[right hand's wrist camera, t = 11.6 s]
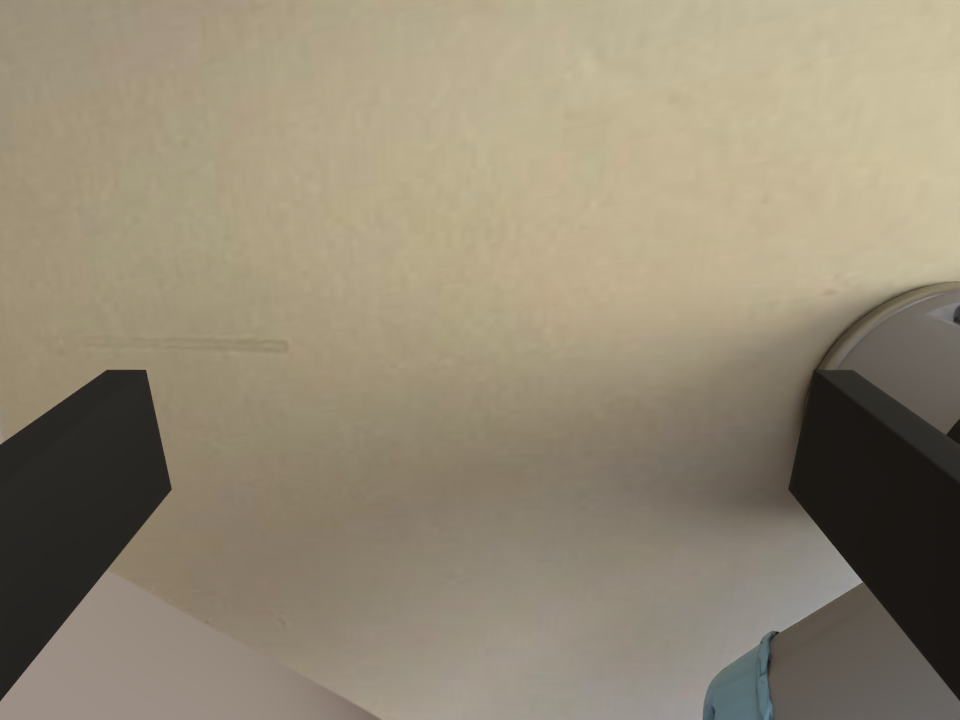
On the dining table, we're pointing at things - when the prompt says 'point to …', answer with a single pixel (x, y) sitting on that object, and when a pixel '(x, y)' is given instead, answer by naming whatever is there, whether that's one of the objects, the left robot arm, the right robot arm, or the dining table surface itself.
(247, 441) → the dining table surface
